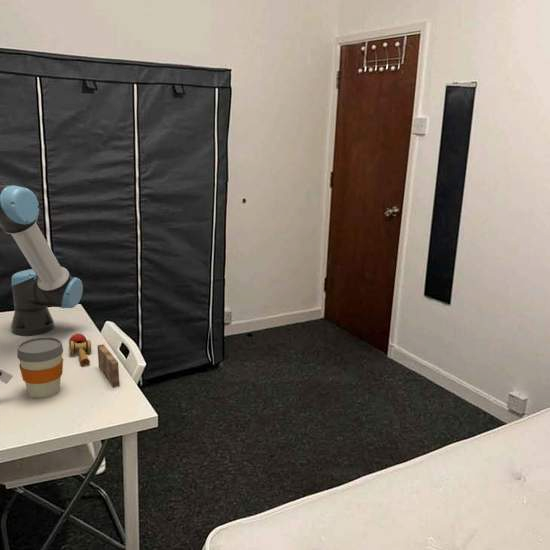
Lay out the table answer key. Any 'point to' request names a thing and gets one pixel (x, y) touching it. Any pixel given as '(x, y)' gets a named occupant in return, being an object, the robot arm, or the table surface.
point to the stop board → (108, 365)
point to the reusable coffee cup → (41, 365)
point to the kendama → (80, 347)
